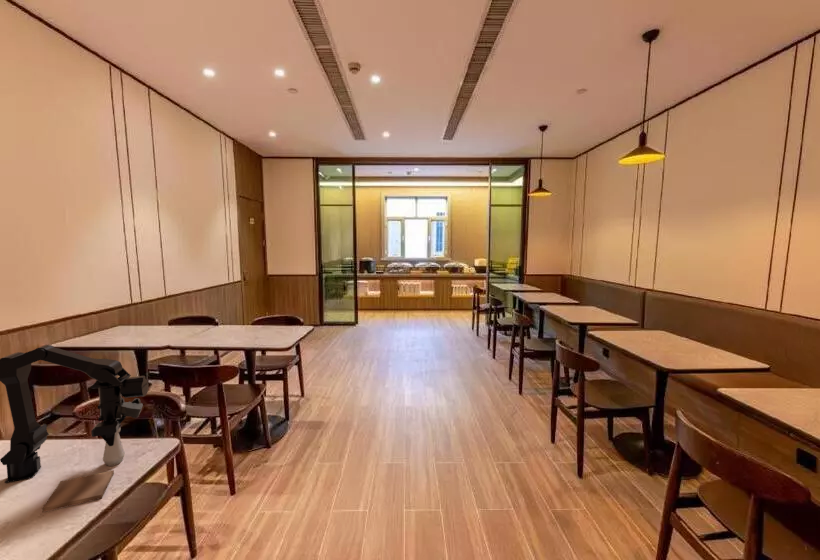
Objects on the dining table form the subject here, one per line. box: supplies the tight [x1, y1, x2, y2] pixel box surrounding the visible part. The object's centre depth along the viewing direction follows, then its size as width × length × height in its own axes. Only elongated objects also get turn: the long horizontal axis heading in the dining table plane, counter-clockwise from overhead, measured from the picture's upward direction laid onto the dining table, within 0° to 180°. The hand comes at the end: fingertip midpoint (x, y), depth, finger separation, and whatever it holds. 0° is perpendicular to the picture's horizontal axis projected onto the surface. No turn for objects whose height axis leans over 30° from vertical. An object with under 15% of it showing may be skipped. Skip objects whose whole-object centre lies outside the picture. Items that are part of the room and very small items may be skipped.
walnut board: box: [41, 469, 115, 513], centre depth 109 cm, size 13×13×1 cm
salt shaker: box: [102, 427, 125, 467], centre depth 123 cm, size 6×6×13 cm
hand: (113, 443), depth 123 cm, fingers closed on salt shaker, 3 cm apart
